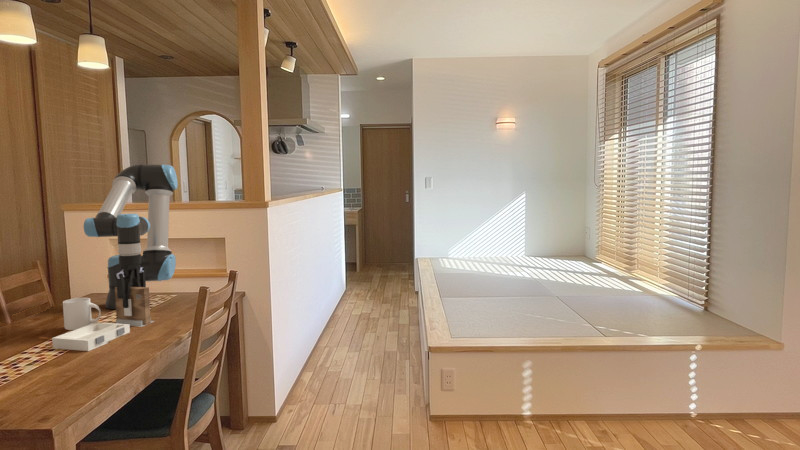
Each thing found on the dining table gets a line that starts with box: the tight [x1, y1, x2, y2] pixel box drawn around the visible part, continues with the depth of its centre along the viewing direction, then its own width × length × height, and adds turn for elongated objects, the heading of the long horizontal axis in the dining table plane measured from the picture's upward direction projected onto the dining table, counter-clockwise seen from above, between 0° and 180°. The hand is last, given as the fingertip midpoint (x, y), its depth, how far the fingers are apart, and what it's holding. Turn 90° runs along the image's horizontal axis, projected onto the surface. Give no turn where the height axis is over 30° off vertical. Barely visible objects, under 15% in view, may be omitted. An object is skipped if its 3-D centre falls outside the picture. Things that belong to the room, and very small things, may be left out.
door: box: [115, 287, 152, 326], centre depth 182 cm, size 13×3×14 cm, turn 79°
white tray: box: [51, 321, 131, 352], centre depth 164 cm, size 18×14×4 cm
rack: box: [115, 316, 155, 328], centre depth 183 cm, size 7×13×2 cm, turn 79°
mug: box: [62, 297, 102, 331], centre depth 179 cm, size 9×12×11 cm
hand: (133, 313), depth 183 cm, fingers open, 4 cm apart
